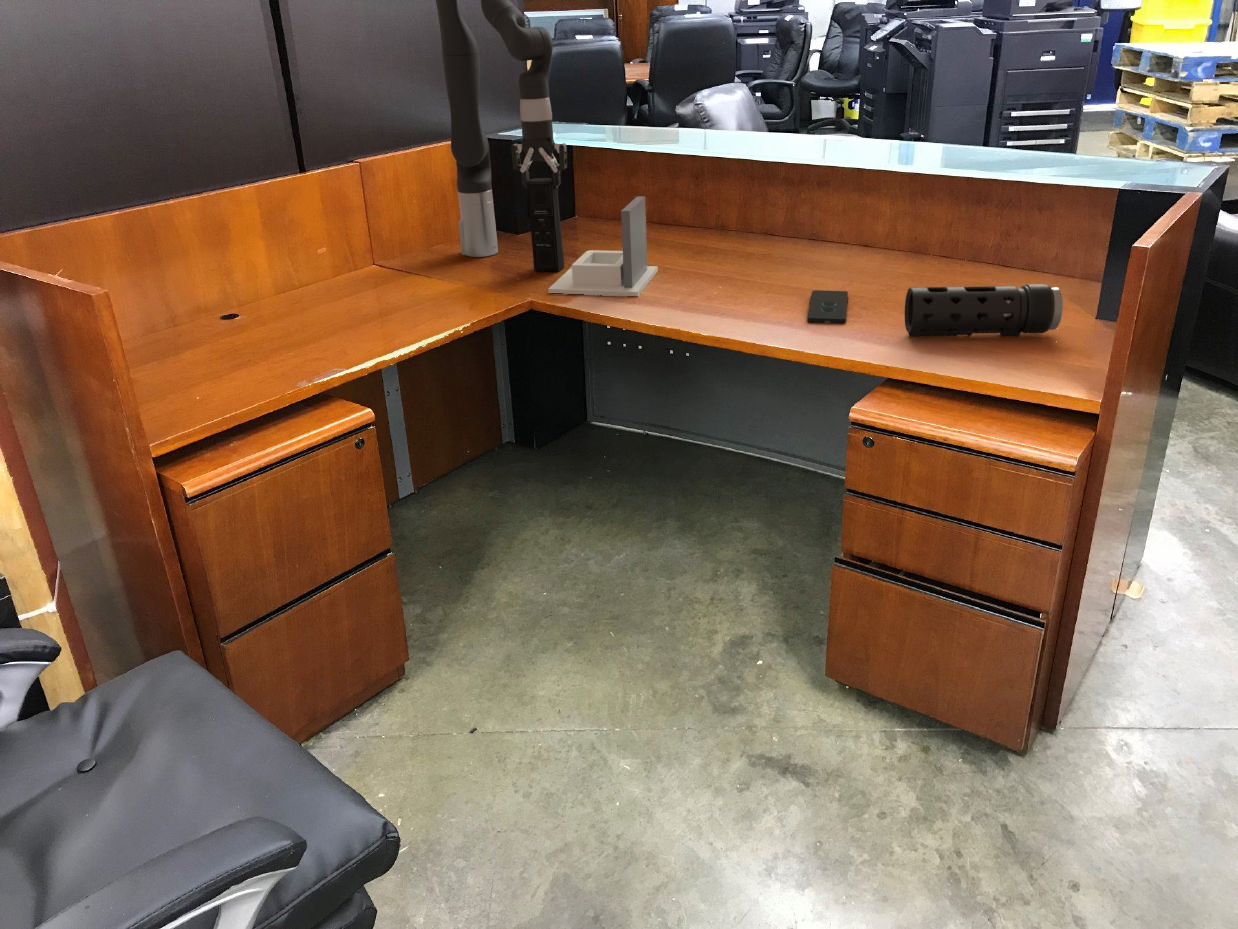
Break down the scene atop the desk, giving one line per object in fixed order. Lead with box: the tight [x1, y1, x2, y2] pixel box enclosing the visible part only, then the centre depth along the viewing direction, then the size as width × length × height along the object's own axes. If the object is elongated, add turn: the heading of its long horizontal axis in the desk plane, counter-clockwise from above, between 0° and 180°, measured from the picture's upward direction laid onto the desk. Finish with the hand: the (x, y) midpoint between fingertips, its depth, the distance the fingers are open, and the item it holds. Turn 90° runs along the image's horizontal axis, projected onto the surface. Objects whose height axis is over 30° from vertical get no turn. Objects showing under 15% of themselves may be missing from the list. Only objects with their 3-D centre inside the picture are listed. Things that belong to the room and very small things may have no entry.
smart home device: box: [806, 289, 849, 325], centre depth 210 cm, size 8×2×20 cm
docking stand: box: [547, 196, 659, 297], centre depth 232 cm, size 22×22×19 cm
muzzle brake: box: [904, 283, 1064, 338], centre depth 189 cm, size 10×28×10 cm, turn 85°
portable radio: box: [526, 168, 565, 273], centre depth 243 cm, size 8×6×25 cm
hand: (541, 187), depth 239 cm, fingers closed on portable radio, 7 cm apart
